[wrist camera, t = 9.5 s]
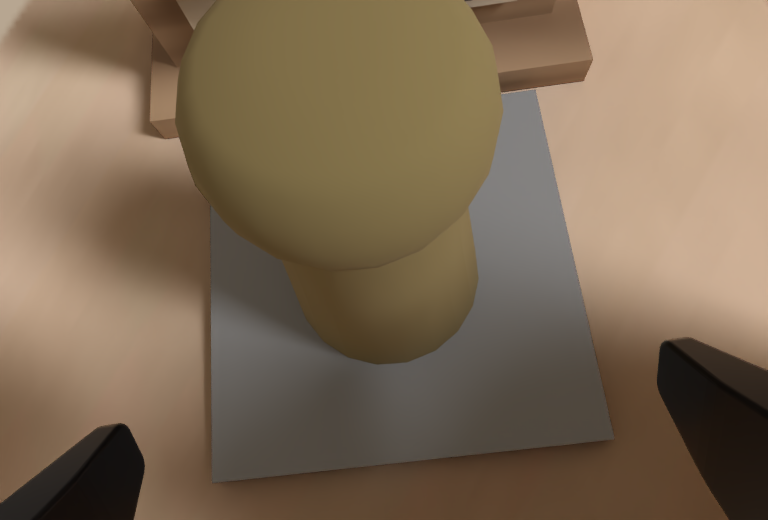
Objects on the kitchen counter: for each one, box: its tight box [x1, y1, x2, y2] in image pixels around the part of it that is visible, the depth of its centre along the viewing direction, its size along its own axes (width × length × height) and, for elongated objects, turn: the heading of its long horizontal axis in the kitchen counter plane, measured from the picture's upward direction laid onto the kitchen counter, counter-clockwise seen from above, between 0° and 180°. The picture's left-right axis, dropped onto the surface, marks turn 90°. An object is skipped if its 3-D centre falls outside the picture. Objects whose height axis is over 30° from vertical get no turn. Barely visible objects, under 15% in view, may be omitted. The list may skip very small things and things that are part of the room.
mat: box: [210, 90, 615, 483], centre depth 18 cm, size 12×12×1 cm
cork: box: [175, 0, 503, 365], centre depth 12 cm, size 6×6×11 cm
